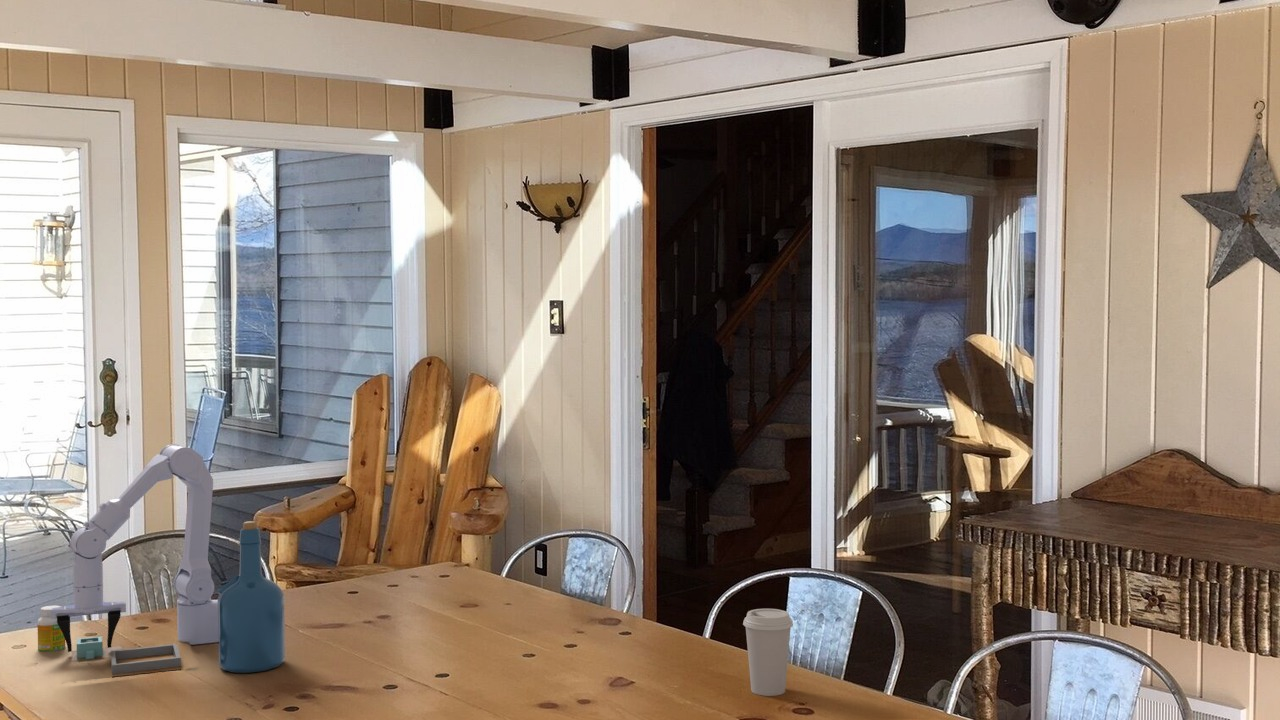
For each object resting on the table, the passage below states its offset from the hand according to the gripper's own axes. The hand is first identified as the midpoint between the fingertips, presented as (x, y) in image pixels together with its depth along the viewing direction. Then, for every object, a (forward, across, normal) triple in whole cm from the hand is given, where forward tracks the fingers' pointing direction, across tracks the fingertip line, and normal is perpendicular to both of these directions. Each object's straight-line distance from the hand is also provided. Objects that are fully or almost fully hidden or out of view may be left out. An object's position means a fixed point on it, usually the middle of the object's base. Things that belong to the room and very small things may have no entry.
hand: (89, 648), depth 264 cm
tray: (+2, +10, -12) cm, 16 cm away
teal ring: (+1, 0, 0) cm, 1 cm away
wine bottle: (+2, +30, -21) cm, 37 cm away
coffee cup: (+2, +118, -82) cm, 144 cm away
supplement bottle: (+2, -8, +9) cm, 12 cm away
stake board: (+2, +2, 0) cm, 2 cm away
